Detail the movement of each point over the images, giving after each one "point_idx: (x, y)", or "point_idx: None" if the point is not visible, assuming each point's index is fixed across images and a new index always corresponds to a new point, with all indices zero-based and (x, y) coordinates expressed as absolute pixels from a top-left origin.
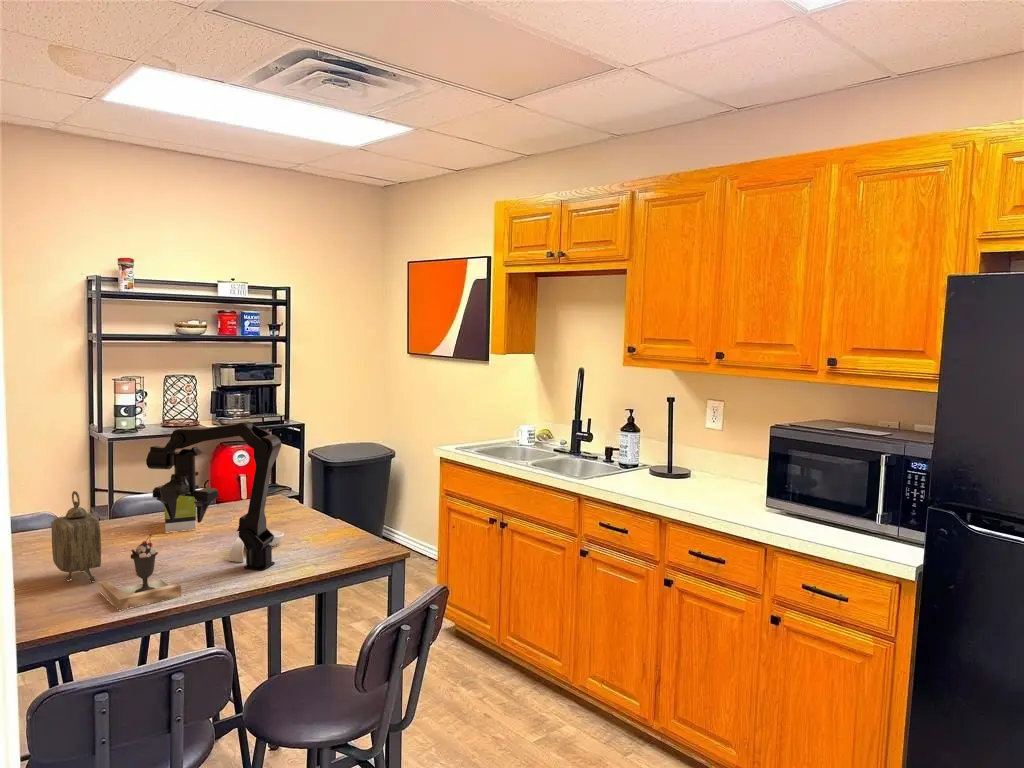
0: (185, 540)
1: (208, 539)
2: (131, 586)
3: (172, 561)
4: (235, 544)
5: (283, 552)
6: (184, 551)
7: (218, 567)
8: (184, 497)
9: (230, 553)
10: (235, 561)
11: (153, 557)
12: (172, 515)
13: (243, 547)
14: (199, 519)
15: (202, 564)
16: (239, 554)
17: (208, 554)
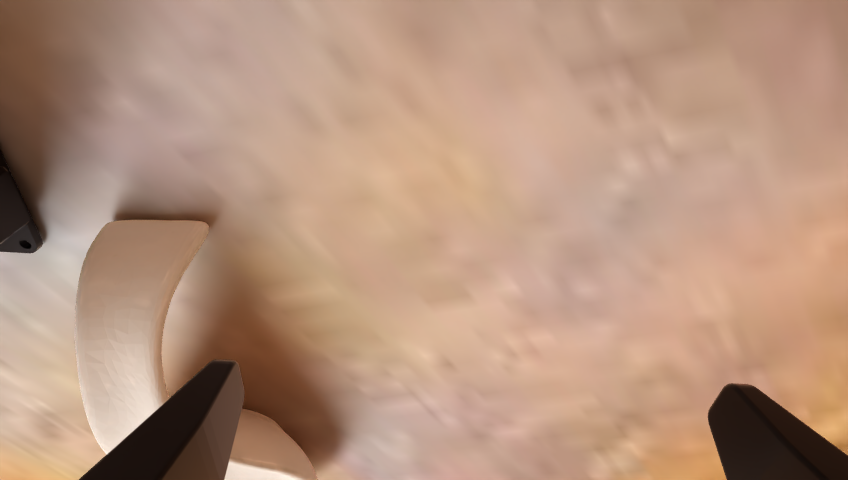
0: (655, 430)
1: (549, 453)
2: None
3: (576, 152)
4: (140, 319)
5: (66, 385)
6: (587, 314)
7: (180, 107)
8: None
9: (176, 254)
10: (157, 220)
11: None
12: (771, 463)
13: (77, 302)
14: (169, 405)
15: (335, 140)
16: (107, 252)
17: (421, 299)
